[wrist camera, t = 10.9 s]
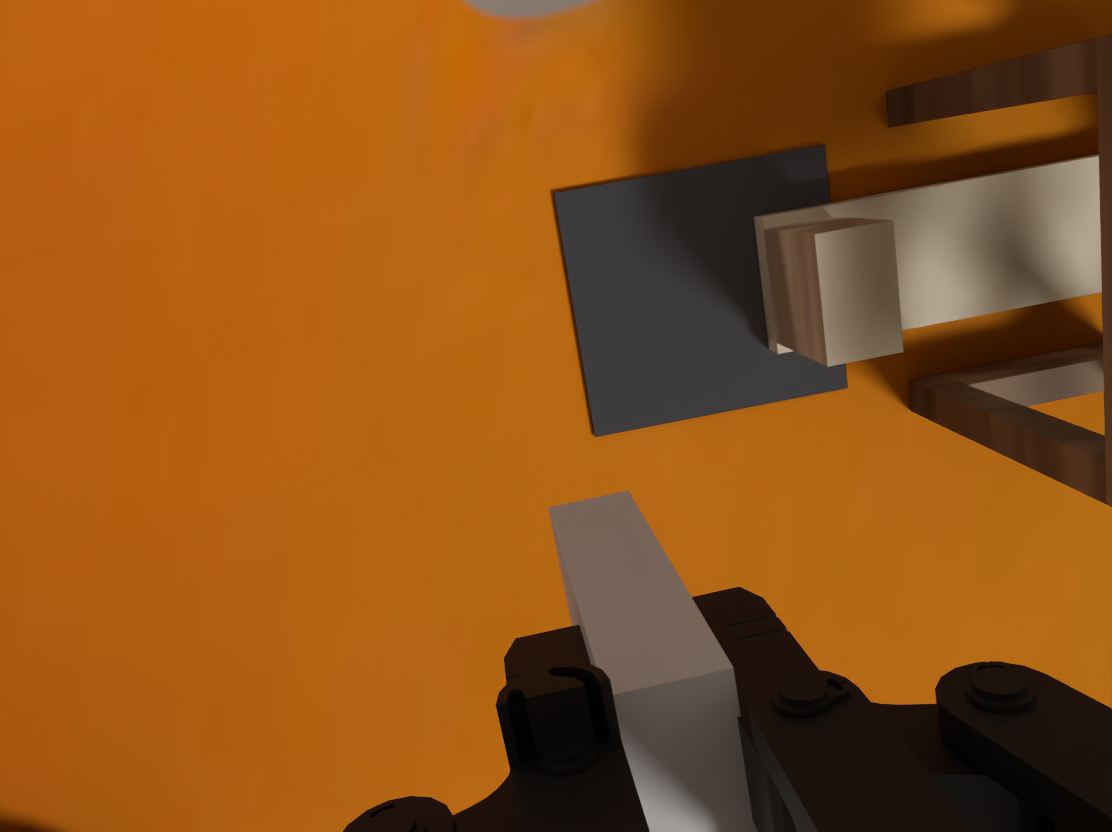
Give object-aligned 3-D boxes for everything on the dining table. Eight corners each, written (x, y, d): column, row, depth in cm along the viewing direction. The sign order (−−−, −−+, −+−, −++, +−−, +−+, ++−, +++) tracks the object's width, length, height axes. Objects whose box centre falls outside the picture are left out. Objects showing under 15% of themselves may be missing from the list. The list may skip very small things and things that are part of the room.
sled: (772, 381, 42) (832, 417, 35) (750, 182, 39) (808, 178, 33) (1199, 299, 43) (1338, 318, 36) (1200, 100, 41) (1348, 80, 34)
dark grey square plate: (594, 436, 42) (595, 436, 42) (553, 193, 39) (554, 193, 39) (846, 387, 42) (847, 388, 42) (823, 144, 40) (824, 144, 39)
